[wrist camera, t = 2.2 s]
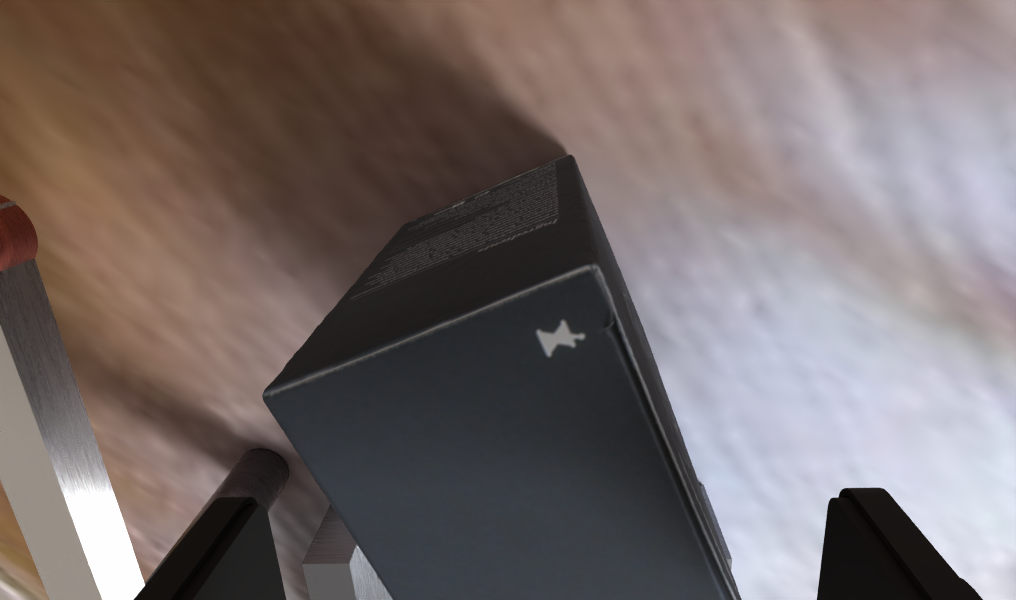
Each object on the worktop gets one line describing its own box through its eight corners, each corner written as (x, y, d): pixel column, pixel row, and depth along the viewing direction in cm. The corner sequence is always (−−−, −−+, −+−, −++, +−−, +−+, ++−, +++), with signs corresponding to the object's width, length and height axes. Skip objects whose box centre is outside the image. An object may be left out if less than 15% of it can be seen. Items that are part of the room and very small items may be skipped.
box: (399, 224, 19) (244, 394, 9) (572, 149, 18) (608, 250, 8) (503, 430, 22) (469, 742, 12) (661, 375, 20) (773, 665, 11)
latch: (-84, 195, 12) (-188, 217, 10) (46, 188, 12) (-37, 208, 10) (107, 683, 16) (57, 755, 15) (204, 684, 16) (165, 756, 14)
